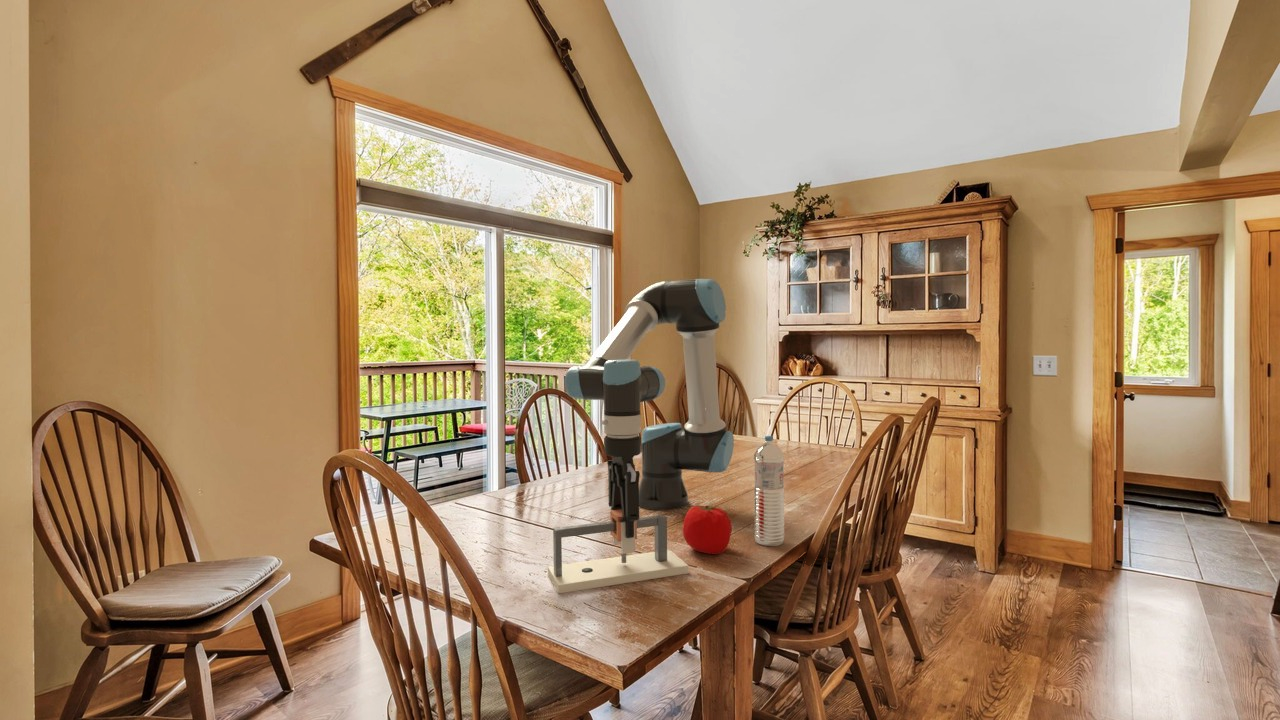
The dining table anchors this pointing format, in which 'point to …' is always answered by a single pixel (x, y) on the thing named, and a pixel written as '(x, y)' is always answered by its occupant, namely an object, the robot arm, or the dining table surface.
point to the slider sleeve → (619, 528)
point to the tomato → (707, 529)
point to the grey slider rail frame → (609, 526)
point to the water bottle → (769, 494)
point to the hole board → (615, 571)
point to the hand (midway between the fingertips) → (623, 547)
